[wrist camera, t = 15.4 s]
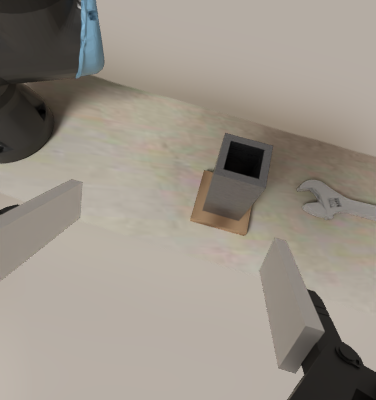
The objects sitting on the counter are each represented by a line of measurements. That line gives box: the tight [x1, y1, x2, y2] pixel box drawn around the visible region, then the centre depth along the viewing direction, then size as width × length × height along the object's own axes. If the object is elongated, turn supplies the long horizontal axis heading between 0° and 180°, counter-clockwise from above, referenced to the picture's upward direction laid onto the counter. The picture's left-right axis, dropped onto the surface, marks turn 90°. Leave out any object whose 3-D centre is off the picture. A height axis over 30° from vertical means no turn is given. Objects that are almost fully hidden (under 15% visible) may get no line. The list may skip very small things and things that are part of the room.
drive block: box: [190, 170, 252, 236], centre depth 38 cm, size 9×9×6 cm
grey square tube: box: [202, 133, 273, 221], centre depth 34 cm, size 6×6×12 cm
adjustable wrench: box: [297, 180, 376, 221], centre depth 41 cm, size 25×6×2 cm, turn 71°
